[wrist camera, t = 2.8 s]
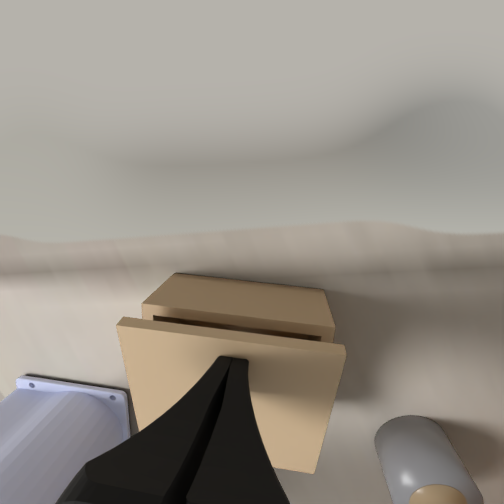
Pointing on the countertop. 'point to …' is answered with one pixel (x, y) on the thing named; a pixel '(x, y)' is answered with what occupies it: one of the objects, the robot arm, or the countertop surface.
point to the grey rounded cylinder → (422, 464)
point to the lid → (259, 375)
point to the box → (242, 307)
